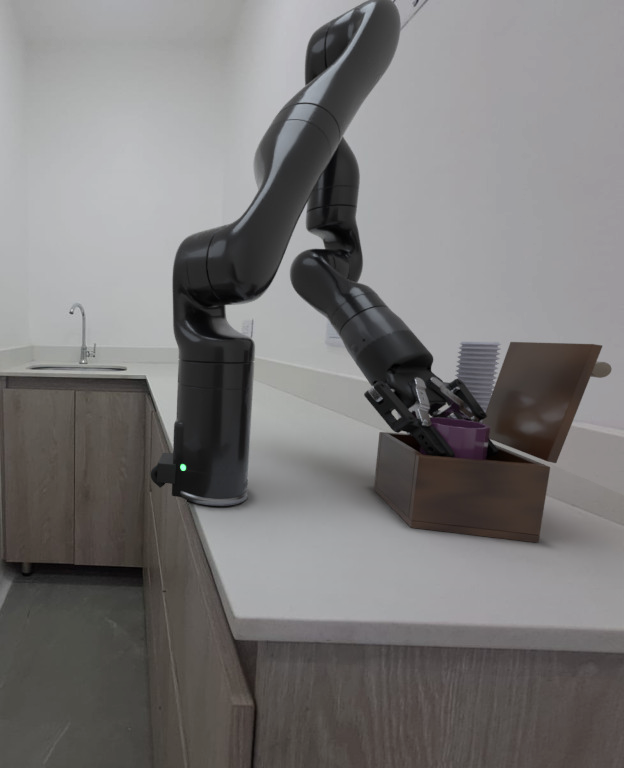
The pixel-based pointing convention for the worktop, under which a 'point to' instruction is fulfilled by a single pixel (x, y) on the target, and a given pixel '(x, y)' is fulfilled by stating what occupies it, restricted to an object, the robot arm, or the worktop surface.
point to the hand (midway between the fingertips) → (467, 458)
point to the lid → (541, 395)
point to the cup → (463, 437)
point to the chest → (462, 490)
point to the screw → (478, 370)
